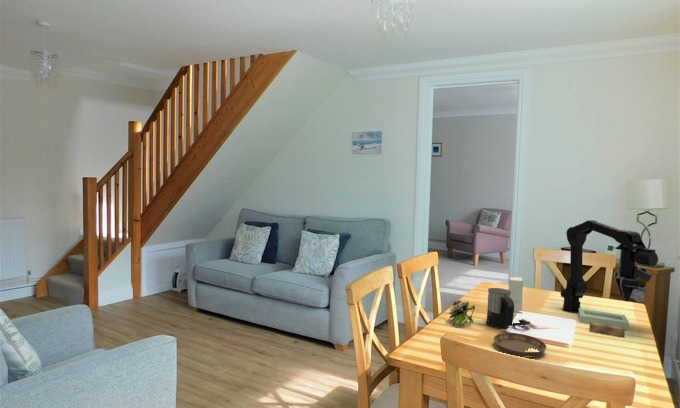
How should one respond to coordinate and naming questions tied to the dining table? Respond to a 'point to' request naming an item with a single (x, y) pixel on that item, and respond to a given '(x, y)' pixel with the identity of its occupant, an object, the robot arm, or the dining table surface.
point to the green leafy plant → (461, 313)
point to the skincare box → (516, 292)
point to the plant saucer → (519, 344)
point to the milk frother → (501, 309)
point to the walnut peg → (607, 329)
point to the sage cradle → (603, 318)
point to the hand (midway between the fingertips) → (624, 298)
